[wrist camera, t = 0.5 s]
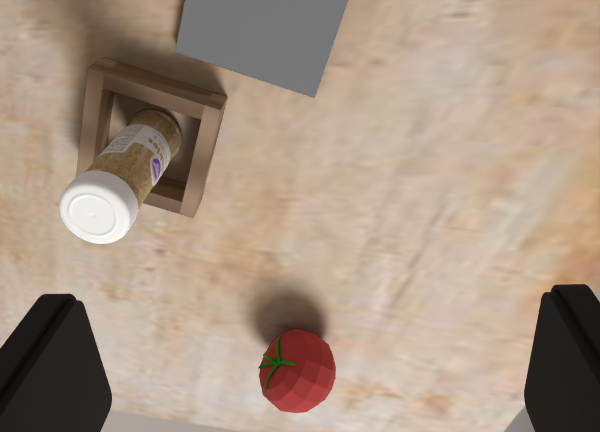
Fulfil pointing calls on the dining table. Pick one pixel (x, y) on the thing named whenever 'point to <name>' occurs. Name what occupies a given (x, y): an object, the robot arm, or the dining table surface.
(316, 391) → the tomato
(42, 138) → the dining table surface
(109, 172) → the spice jar
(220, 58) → the mat
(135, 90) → the brown wooden square tray
